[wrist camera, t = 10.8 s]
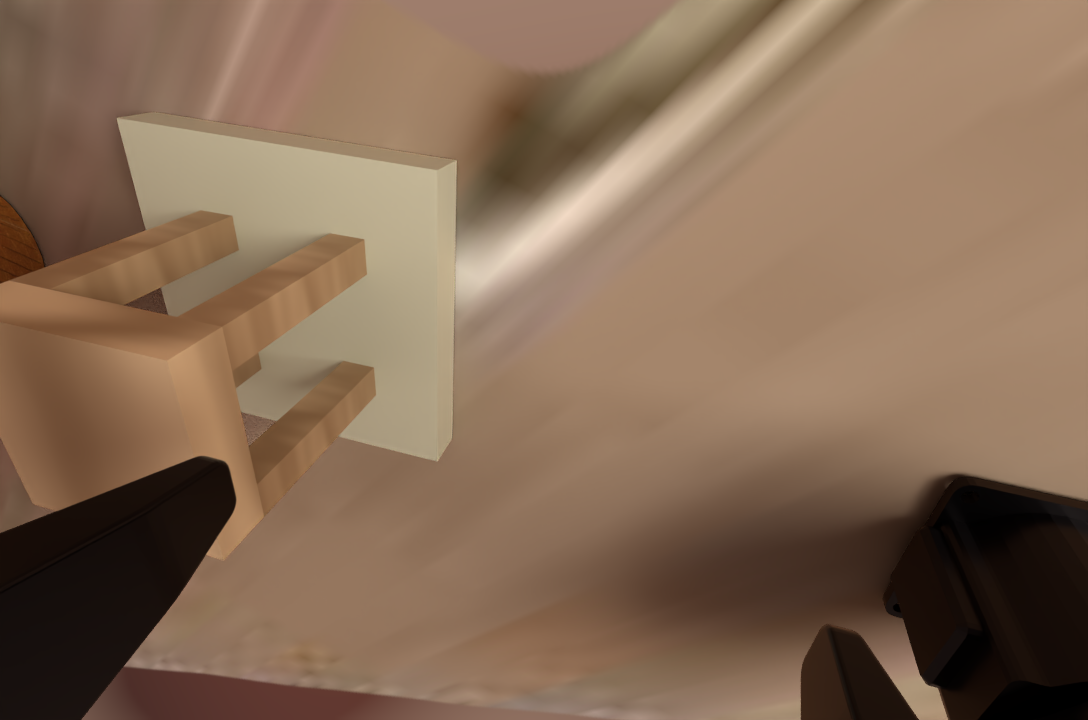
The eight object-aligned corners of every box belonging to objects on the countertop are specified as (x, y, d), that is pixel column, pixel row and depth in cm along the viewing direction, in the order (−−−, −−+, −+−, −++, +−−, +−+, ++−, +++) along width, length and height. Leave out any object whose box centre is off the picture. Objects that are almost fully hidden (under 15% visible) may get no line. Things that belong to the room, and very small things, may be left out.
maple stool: (364, 239, 19) (166, 360, 12) (376, 394, 22) (224, 560, 15) (201, 210, 20) (-64, 307, 13) (234, 362, 23) (33, 504, 16)
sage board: (456, 160, 18) (437, 170, 17) (452, 438, 24) (437, 461, 23) (153, 111, 20) (116, 117, 19) (215, 380, 26) (190, 399, 25)
